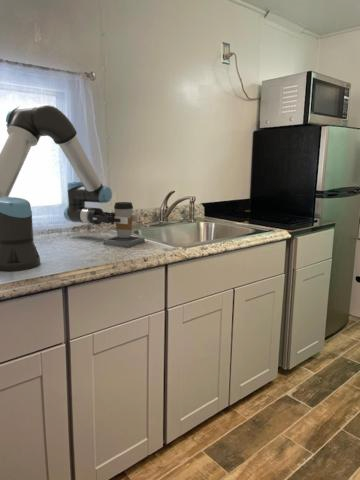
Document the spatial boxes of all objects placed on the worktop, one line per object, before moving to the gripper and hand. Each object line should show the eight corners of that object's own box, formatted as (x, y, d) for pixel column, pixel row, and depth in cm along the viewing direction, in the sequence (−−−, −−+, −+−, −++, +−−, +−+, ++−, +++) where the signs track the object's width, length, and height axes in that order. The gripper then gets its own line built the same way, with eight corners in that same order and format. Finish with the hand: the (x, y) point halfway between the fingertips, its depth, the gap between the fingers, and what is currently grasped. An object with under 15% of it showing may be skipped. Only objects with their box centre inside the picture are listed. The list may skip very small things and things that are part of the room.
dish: (127, 247, 158) (127, 242, 158) (103, 244, 164) (103, 239, 164) (144, 242, 169) (144, 237, 169) (121, 239, 175) (121, 234, 175)
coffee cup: (130, 238, 161) (129, 204, 158) (112, 237, 163) (110, 203, 160) (136, 235, 169) (135, 202, 166) (118, 234, 171) (117, 201, 168)
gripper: (107, 220, 182) (146, 224, 172) (77, 227, 165) (118, 231, 154) (106, 205, 181) (145, 208, 170) (76, 210, 163) (117, 213, 153)
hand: (132, 219), depth 162 cm, fingers closed on coffee cup, 7 cm apart
